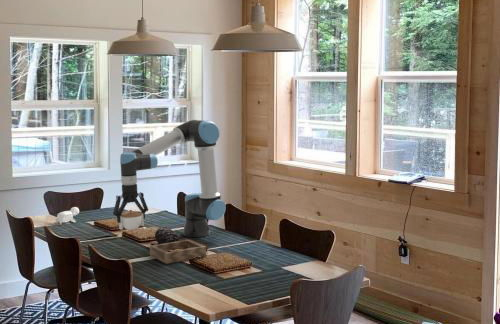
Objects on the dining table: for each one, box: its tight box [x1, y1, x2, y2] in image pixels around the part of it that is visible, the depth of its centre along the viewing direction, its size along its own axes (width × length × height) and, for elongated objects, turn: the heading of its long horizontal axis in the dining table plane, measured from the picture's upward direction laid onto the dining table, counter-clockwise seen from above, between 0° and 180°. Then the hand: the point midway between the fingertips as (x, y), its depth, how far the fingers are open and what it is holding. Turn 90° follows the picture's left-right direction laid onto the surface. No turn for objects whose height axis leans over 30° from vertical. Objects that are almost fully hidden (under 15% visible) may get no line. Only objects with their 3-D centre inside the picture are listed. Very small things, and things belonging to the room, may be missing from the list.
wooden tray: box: [149, 238, 207, 264], centre depth 363 cm, size 22×18×5 cm
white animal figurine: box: [54, 206, 80, 225], centre depth 444 cm, size 9×8×15 cm
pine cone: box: [154, 226, 180, 244], centre depth 382 cm, size 10×18×10 cm, turn 39°
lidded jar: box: [121, 209, 142, 231], centre depth 364 cm, size 11×11×9 cm
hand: (131, 227), depth 364 cm, fingers closed on lidded jar, 11 cm apart
